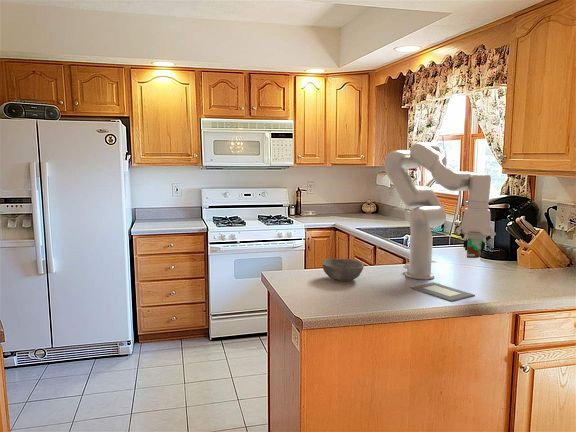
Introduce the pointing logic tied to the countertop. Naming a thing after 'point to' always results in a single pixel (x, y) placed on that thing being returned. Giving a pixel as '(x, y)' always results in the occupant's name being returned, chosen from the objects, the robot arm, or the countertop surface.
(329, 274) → the bowl
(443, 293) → the mat
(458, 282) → the countertop surface
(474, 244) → the food container
